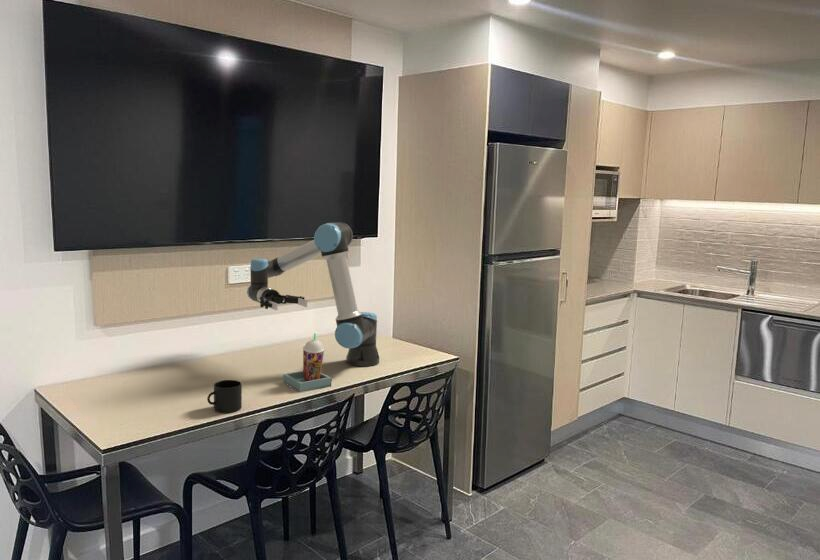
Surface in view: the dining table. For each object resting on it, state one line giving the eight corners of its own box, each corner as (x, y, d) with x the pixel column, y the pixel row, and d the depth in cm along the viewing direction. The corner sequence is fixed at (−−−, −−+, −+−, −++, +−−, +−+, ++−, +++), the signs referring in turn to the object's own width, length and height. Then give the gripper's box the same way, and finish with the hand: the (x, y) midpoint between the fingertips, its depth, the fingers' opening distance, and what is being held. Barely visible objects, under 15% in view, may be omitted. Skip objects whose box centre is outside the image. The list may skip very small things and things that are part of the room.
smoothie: (316, 386, 247) (319, 338, 242) (297, 381, 249) (300, 334, 244) (325, 378, 255) (329, 332, 250) (307, 374, 257) (310, 328, 252)
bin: (313, 376, 260) (313, 368, 259) (331, 386, 249) (331, 377, 249) (283, 382, 251) (283, 374, 251) (300, 392, 240) (300, 383, 240)
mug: (202, 408, 220) (202, 383, 218) (235, 402, 227) (235, 378, 226) (212, 416, 212) (212, 391, 211) (245, 410, 220) (245, 385, 218)
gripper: (294, 302, 281) (318, 311, 265) (241, 308, 265) (263, 317, 249) (294, 286, 280) (318, 293, 263) (241, 290, 264) (263, 298, 248)
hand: (291, 305), depth 256 cm, fingers open, 13 cm apart
